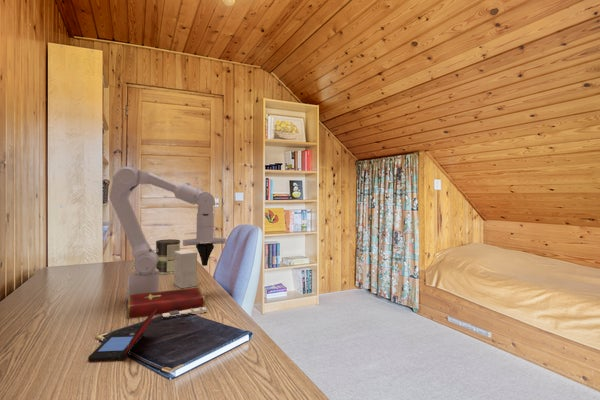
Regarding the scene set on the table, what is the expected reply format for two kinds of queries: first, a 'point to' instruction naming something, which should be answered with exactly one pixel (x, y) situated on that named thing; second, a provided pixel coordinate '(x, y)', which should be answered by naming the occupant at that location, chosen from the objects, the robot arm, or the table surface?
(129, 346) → the handheld game console
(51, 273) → the table surface
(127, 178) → the robot arm
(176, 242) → the coffee can
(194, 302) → the hardcover book
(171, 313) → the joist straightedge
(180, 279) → the small box
